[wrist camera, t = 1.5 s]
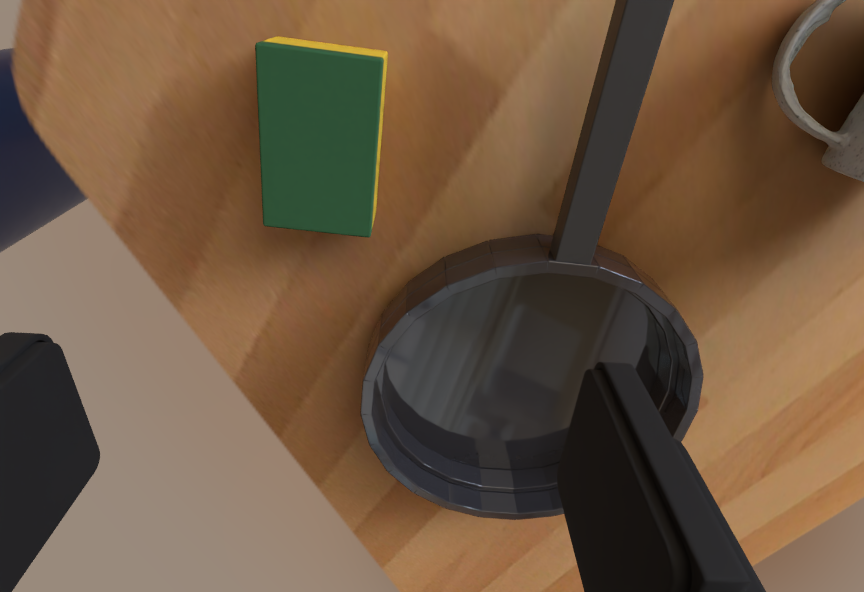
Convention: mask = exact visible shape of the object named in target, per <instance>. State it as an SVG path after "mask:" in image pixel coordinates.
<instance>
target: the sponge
mask: <svg viewBox="0 0 864 592" xmlns="http://www.w3.org/2000/svg"><path fill="white" fill-rule="evenodd" d="M255 50H256V72H257V94H258V117H259V139H260V162H261V184H262V207H263V224H264V226H269V227H278V228H287V229H296V230H306V231H315V232H324V233H333V234H342V235H351V236H360V237H370V236H371V231H372V227H373V223H374V218H375V214H376V206H377V192H378V179H379V165H380V152H381V138H382V125H383V111H384V98H385V84H386V70H387V57H388V53H387V52H386V51H381V50H374V49H366V48H359V47H352V46H344V45H337V44H330V43H322V42H315V41H308V40H300V39H293V38H285V37H278V36H277V37H274V38H271V39H267V40H264V41H262V42H258V43H256V45H255Z"/></svg>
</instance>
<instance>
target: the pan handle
mask: <svg viewBox="0 0 864 592" xmlns="http://www.w3.org/2000/svg"><path fill="white" fill-rule="evenodd" d="M673 2H674V0H616V2H615V6H614V10H613V14H612V17H611V21H610V25H609V29H608V32H607V36H606V40H605V44H604V47H603V51H602V55H601V59H600V62H599V66H598V70H597V74H596V77H595V81H594V85H593V89H592V93H591V96H590V100H589V104H588V108H587V111H586V115H585V119H584V123H583V126H582V130H581V134H580V138H579V141H578V145H577V149H576V153H575V156H574V160H573V164H572V168H571V171H570V175H569V179H568V183H567V186H566V190H565V194H564V198H563V201H562V205H561V209H560V213H559V216H558V220H557V224H556V228H555V231H554V235H553V239H552V243H551V246H550V251H551V253H552V255H553V257H554V259H555V260H556V261H563V262H572V263H582V264H591V262H592V259H593V255H594V252H595V249H596V246H597V243H598V240H599V236H600V233H601V230H602V227H603V224H604V221H605V218H606V214H607V211H608V208H609V205H610V202H611V199H612V195H613V192H614V189H615V186H616V183H617V180H618V176H619V173H620V170H621V167H622V164H623V161H624V157H625V154H626V151H627V148H628V145H629V142H630V138H631V135H632V132H633V129H634V126H635V123H636V119H637V116H638V113H639V110H640V107H641V104H642V100H643V97H644V94H645V91H646V88H647V85H648V81H649V78H650V75H651V72H652V69H653V66H654V62H655V59H656V56H657V53H658V50H659V47H660V44H661V40H662V37H663V34H664V31H665V28H666V25H667V21H668V18H669V15H670V12H671V9H672V6H673Z"/></svg>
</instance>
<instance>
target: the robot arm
mask: <svg viewBox="0 0 864 592" xmlns="http://www.w3.org/2000/svg"><path fill="white" fill-rule="evenodd" d="M99 459H100V451H99V448H98V445H97V442H96V439H95V437H94V434H93V431H92V429H91V426H90V423H89V421H88V418H87V415H86V413H85V410H84V407H83V405H82V402H81V399H80V397H79V394H78V391H77V389H76V386H75V383H74V380H73V378H72V375H71V372H70V370H69V367H68V364H67V362H66V359H65V356H64V354H63V351H62V349H61V347H60V346H59V345H58V344H56V343H53V341H52V339H51V338H50V337H49V336H47V335H44V334H34V333H14V332H13V333H12V332H11V333H4V334H3V335H1V336H0V592H12V590H13V589H14V588H15V586H16V585H17V583H18V582H19V580H20V579H21V577H22V576H23V575H24V573H25V572H26V570H27V569H28V567H29V566H30V564H31V563H32V562H33V560H34V559H35V557H36V556H37V554H38V553H39V551H40V550H41V549H42V547H43V546H44V544H45V543H46V541H47V540H48V539H49V537H50V536H51V534H52V533H53V531H54V530H55V528H56V527H57V526H58V524H59V523H60V521H61V520H62V518H63V517H64V515H65V514H66V512H67V511H68V509H69V508H70V507H71V505H72V504H73V502H74V501H75V500H76V498H77V497H78V495H79V494H80V492H81V491H82V489H83V488H84V486H85V485H86V484H87V482H88V481H89V479H90V478H91V477H92V475H93V474H94V472H95V470H96V469H97V466H98V463H99ZM557 486H558V491H559V495H560V499H561V503H562V507H563V510H564V514H565V518H566V522H567V526H568V530H569V534H570V537H571V541H572V545H573V549H574V553H575V557H576V561H577V565H578V568H579V572H580V576H581V580H582V584H583V588H584V592H766V591H765V589H764V588H763V586H762V584H761V582H760V580H759V579H758V577H757V575H756V573H755V571H754V570H753V568H752V566H751V564H750V562H749V561H748V559H747V557H746V555H745V553H744V552H743V550H742V548H741V546H740V545H739V543H738V541H737V539H736V537H735V536H734V534H733V532H732V530H731V529H730V527H729V525H728V523H727V521H726V520H725V518H724V516H723V514H722V512H721V511H720V509H719V507H718V505H717V504H716V502H715V500H714V498H713V496H712V495H711V493H710V491H709V489H708V487H707V486H706V484H705V482H704V480H703V479H702V477H701V475H700V473H699V471H698V470H697V468H696V466H695V464H694V462H693V461H692V459H691V457H690V455H689V454H688V452H687V450H686V449H685V447H684V446H683V445H682V443H681V442H679V441H678V440H676V439H673V437H672V436H671V434H670V432H669V430H668V428H667V426H666V425H665V423H664V421H663V419H662V417H661V415H660V414H659V412H658V410H657V408H656V406H655V404H654V403H653V401H652V399H651V397H650V395H649V393H648V392H647V390H646V388H645V386H644V384H643V382H642V381H641V379H640V377H639V375H638V373H637V371H636V370H635V368H634V367H633V365H632V364H630V363H615V362H598V363H597V364H596V365H595V367H594V369H588V370H586V371H585V373H584V376H583V380H582V383H581V387H580V391H579V394H578V398H577V401H576V405H575V409H574V412H573V416H572V419H571V423H570V427H569V430H568V434H567V437H566V441H565V445H564V448H563V452H562V456H561V459H560V463H559V466H558V471H557Z"/></svg>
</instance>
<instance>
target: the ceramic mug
mask: <svg viewBox="0 0 864 592" xmlns="http://www.w3.org/2000/svg"><path fill="white" fill-rule="evenodd" d="M844 1H846V0H817V1H816V2H815V3H813V4H812V5H811V6H810V7H809V8H807V9H806V10H805V11H804V12H803V13H802V14H801V15H800V16H799V17H798V19H797V20H796V21H795V22H794V24H793V25H792V27H791V28H790V30H789V31H788V33H787V34H786V36H785V37H784V39H783V41H782V43H781V45H780V47H779V50H778V52H777V55H776V57H775V60H774V64H773V71H772V88H773V91H774V95H775V98H776V100H777V102H778V104H779V106H780V108H781V109H782V111H783V112H784V113H785V115H786V116H787V117H788V118H789V119H790V120H791V121H792V122H793V123H795V124H796V125H797V126H798V127H800V128H801V129H803V130H804V131H806V132H807V133H809V134H810V135H812V136H813V137H815V138H817V139H819V140H822V141H824V142H826V143H827V144H828V145H829V146H828V148H827V150H826V152H825V153H824V155H823V157H822V159H821V163H822V164H823V165H824V166H826V167H828V168H830V169H832V170H834V171H836V172H839V173H841V174H844V175H846V176H849V177H851V178H854V179H857V180H860V181H863V182H864V93H863V95H862V96H861V98H860V99H859V101H858V102H857V104H856V106H855V107H854V109H853V110H852V111H851V112H850V114H849V115H848V117H847V119H846V121H845V123H844V124H843V126H842V127H841V128H840V130H839V131H837V132H831V131H829V130H827V129H826V128H824V127H823V126H822V125H820V124H819V123H818V122H817V121H815V120H814V119H813V118H812V117H811V116H810V115H809V114H807V113H806V112H805V111H804V109H803V108H802V107H801V105H800V104H799V102H798V98H797V96H796V94H795V91H794V85H793V83H792V81H791V77H790V69H789V68H790V65H791V63H792V61H793V59H794V58H795V56H796V55H797V53H798V52H799V50H800V49H801V47H802V46H803V44H804V43H805V41H806V40H807V38H808V37H809V36H810V35H811V33H812V32H813V31H814V30H815V29H816V28H817V27H819V26H820V25H822V24H824V23H826V22H827V21H829V18H830V16H831V13H832V12H833V10H834V9H835V8H836V7H837V6H839V5H840V4H842V3H843V2H844Z"/></svg>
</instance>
